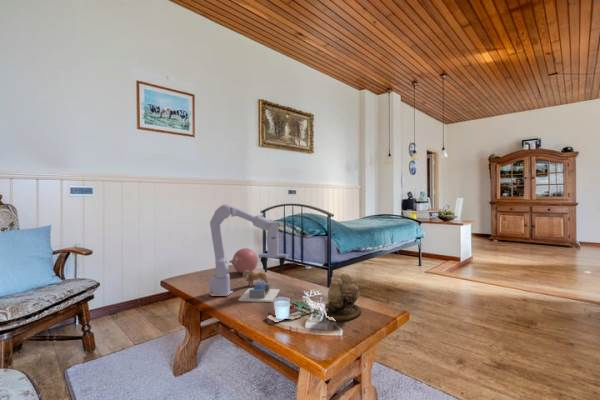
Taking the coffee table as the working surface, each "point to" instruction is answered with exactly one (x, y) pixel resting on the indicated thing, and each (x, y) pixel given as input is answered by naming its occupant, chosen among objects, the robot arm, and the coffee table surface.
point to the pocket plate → (260, 295)
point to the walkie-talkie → (293, 312)
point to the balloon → (244, 260)
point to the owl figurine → (343, 299)
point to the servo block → (259, 286)
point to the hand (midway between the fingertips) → (273, 272)
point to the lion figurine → (253, 277)
